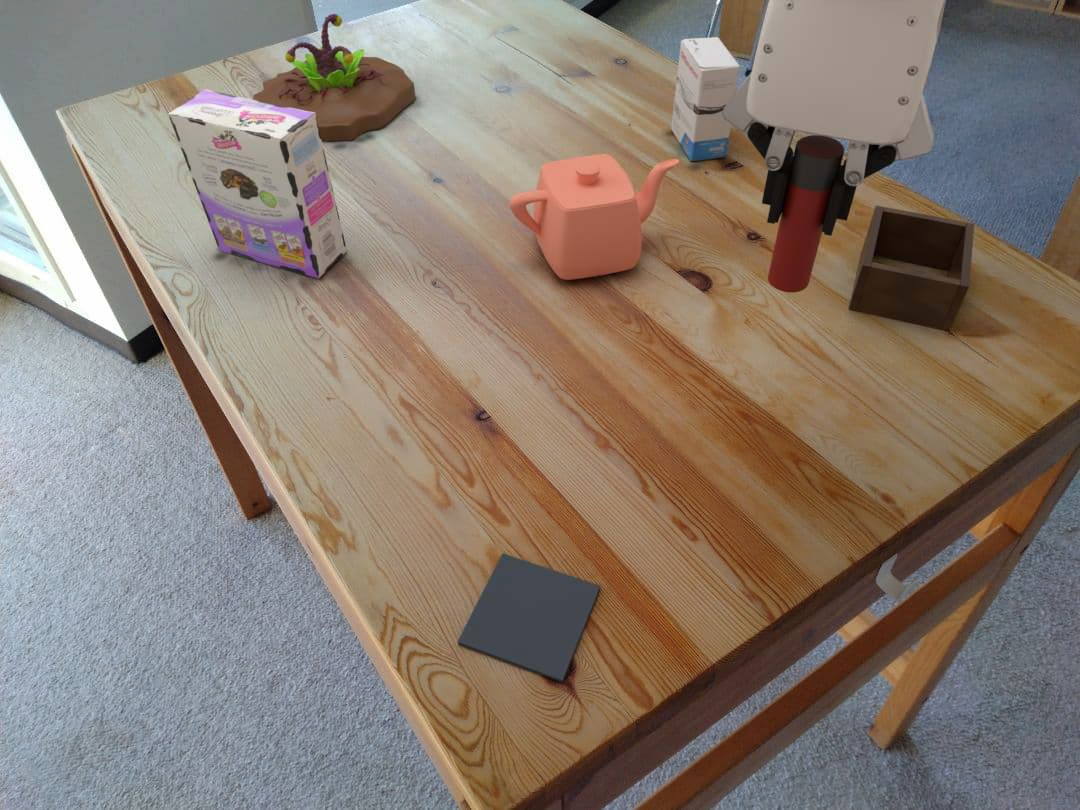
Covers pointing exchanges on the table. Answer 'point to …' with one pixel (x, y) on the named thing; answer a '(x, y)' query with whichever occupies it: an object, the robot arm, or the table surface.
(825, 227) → the robot arm
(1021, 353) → the table surface
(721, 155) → the ink box
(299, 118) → the candy box
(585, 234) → the teapot
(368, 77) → the plant
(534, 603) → the desk pad
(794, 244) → the marker pen
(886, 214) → the wooden box
